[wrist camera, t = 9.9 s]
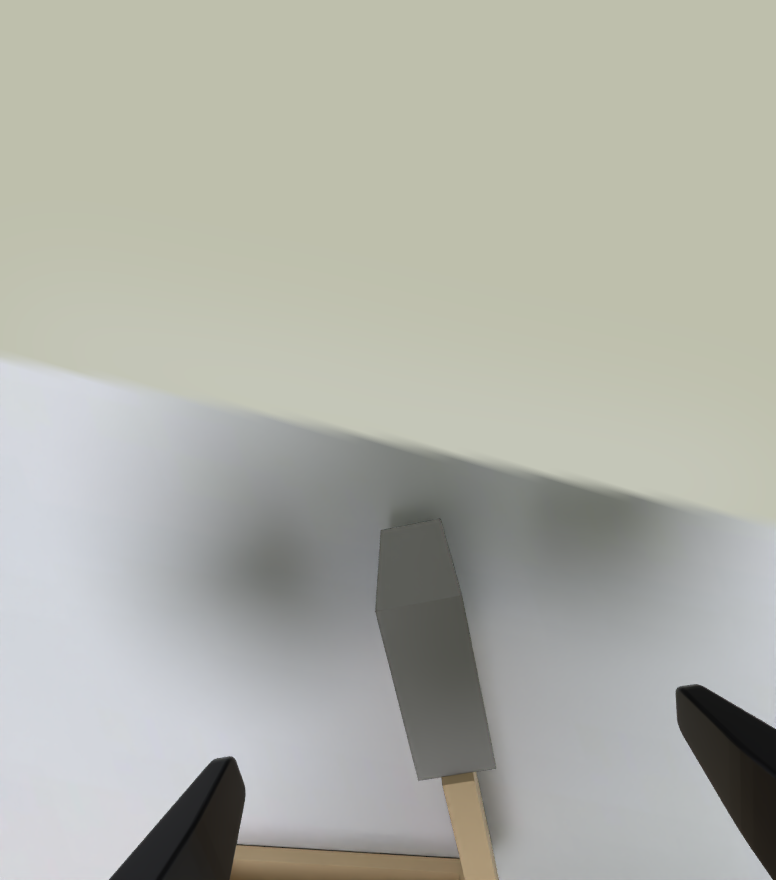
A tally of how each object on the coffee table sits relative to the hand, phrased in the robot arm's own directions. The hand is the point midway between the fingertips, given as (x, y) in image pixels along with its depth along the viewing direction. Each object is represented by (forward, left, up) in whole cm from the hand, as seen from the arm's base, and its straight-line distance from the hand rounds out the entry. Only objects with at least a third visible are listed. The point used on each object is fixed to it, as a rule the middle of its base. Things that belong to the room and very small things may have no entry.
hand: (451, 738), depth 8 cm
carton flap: (-2, +6, -7) cm, 9 cm away
